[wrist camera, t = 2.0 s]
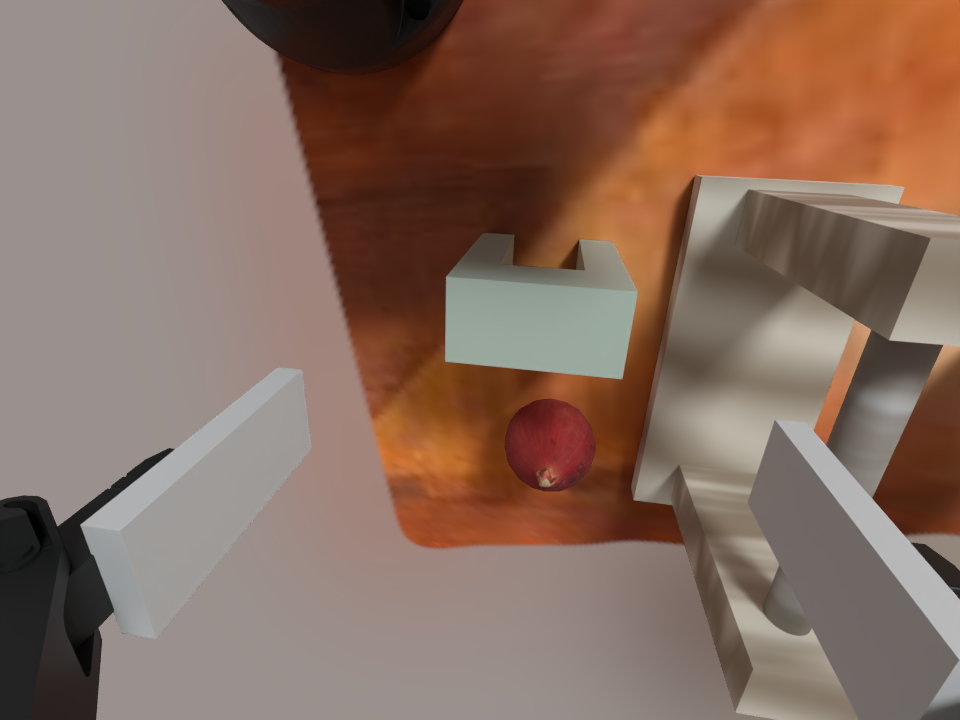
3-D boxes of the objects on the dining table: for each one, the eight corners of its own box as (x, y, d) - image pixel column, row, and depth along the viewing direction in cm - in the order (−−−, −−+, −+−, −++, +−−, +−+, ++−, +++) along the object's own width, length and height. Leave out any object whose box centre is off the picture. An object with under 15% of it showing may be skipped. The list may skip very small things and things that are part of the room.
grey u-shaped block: (483, 232, 31) (446, 276, 21) (612, 241, 30) (638, 291, 20) (480, 294, 33) (445, 361, 23) (603, 304, 32) (622, 379, 22)
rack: (695, 175, 28) (838, 213, 14) (887, 184, 27) (1268, 238, 12) (630, 487, 37) (675, 709, 23) (771, 504, 36) (913, 750, 21)
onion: (608, 409, 35) (621, 480, 28) (559, 462, 37) (559, 540, 30) (541, 364, 34) (535, 424, 27) (495, 421, 37) (479, 491, 29)
